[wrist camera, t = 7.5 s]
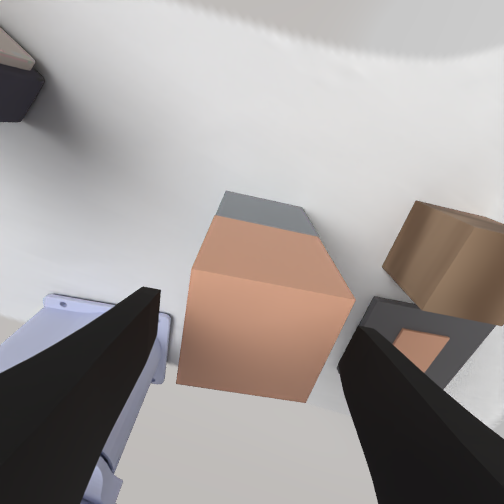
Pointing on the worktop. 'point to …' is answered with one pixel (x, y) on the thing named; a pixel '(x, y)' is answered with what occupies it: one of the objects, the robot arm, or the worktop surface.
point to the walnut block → (450, 263)
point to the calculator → (16, 80)
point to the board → (427, 336)
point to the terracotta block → (261, 311)
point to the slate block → (265, 213)
